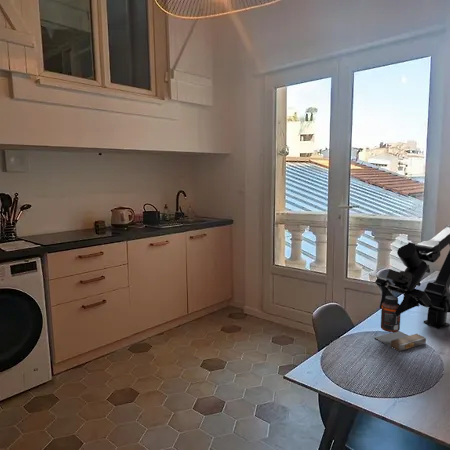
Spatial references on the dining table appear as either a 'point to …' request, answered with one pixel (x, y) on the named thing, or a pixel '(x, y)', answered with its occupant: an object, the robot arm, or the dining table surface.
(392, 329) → the supplement bottle
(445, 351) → the dining table surface
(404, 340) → the rail
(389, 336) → the front pad
